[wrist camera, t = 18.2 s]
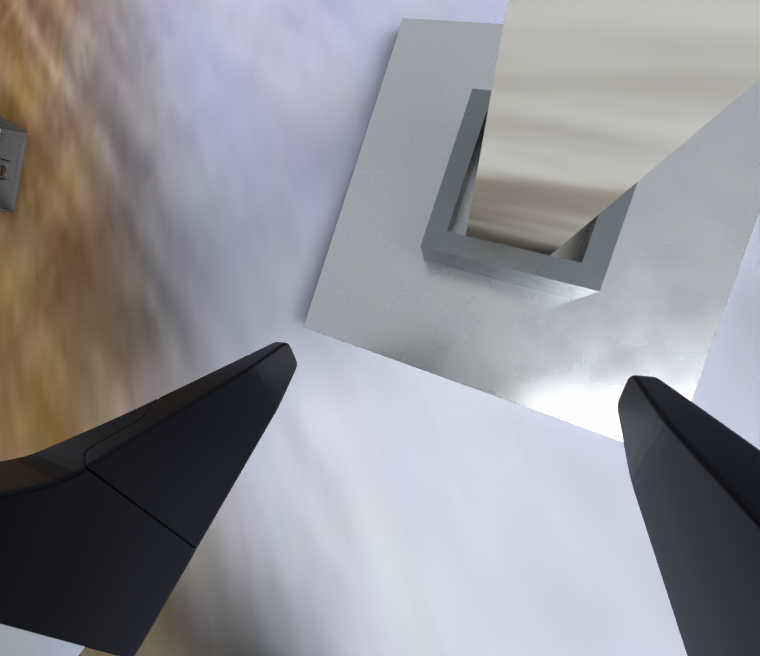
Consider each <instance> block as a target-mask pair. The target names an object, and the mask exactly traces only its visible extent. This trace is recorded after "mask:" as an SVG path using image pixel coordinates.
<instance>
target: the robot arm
mask: <svg viewBox="0 0 760 656" xmlns="http://www.w3.org/2000/svg"><path fill="white" fill-rule="evenodd" d="M296 367H297V362H296V359H295V357H294V354H293V352H292V350H291V348H290V346H289V345H288V344H287V343H283V342H275V343H272V344H270V345H268V346H266V347H264V348H262V349H260V350H258V351H256V352H254V353H252V354H250V355H248V356H245V357H243V358H241V359H239V360H237V361H235V362H233V363H231V364H229V365H227V366H225V367H223V368H221V369H218V370H216V371H214V372H212V373H210V374H208V375H206V376H204V377H202V378H200V379H198V380H196V381H194V382H191V383H189V384H187V385H185V386H183V387H181V388H179V389H177V390H175V391H173V392H171V393H169V394H167V395H164V396H162V397H160V398H159V399H156V400H154V401H152V402H150V403H148V404H146V405H144V406H141V407H139V408H137V409H135V410H133V411H131V412H129V413H126V414H124V415H122V416H120V417H118V418H115V419H113V420H111V421H109V422H106V423H104V424H102V425H100V426H97V427H95V428H93V429H91V430H88V431H86V432H84V433H81V434H79V435H77V436H74V437H72V438H70V439H67V440H65V441H63V442H61V443H58V444H56V445H54V446H51V447H49V448H47V449H44V450H42V451H39V452H37V453H34V454H31V455H28V456H25V457H21V458H17V459H12V460H7V461H1V462H0V656H80V654H81V653H82V651H83V650H84V649H85V648H86V647H88V648H91V649H95V650H99V651H103V652H106V653H110V654H114V655H117V656H134V655H135V654H136V652H137V651H138V649H139V648H140V646H141V645H142V643H143V641H144V639H145V638H146V636H147V634H148V633H149V631H150V629H151V627H152V626H153V624H154V622H155V620H156V619H157V617H158V615H159V613H160V612H161V610H162V608H163V607H164V605H165V603H166V601H167V600H168V598H169V596H170V594H171V593H172V591H173V589H174V588H175V586H176V584H177V582H178V581H179V579H180V577H181V575H182V574H183V572H184V570H185V568H186V567H187V565H188V563H189V562H190V560H191V558H192V556H193V555H194V553H195V551H196V548H197V547H198V545H199V544H200V542H201V540H202V539H203V537H204V535H205V533H206V532H207V530H208V528H209V526H210V525H211V523H212V521H213V520H214V518H215V516H216V514H217V513H218V511H219V509H220V507H221V506H222V504H223V502H224V501H225V499H226V497H227V495H228V494H229V492H230V490H231V488H232V487H233V485H234V483H235V482H236V480H237V478H238V476H239V475H240V473H241V471H242V469H243V468H244V466H245V464H246V462H247V461H248V459H249V457H250V456H251V454H252V452H253V450H254V449H255V447H256V445H257V443H258V442H259V440H260V438H261V437H262V435H263V433H264V431H265V430H266V428H267V426H268V424H269V423H270V421H271V419H272V418H273V416H274V414H275V412H276V410H277V409H278V407H279V405H280V403H281V400H282V398H283V396H284V394H285V392H286V390H287V387H288V385H289V383H290V381H291V379H292V376H293V374H294V372H295V370H296ZM618 415H619V420H620V425H621V431H622V436H623V442H624V447H625V452H626V458H627V463H628V468H629V473H630V478H631V481H632V485H633V488H634V492H635V495H636V498H637V501H638V504H639V507H640V510H641V513H642V516H643V520H644V523H645V526H646V529H647V532H648V535H649V538H650V541H651V544H652V547H653V550H654V554H655V557H656V560H657V563H658V566H659V569H660V572H661V575H662V578H663V581H664V584H665V588H666V591H667V594H668V597H669V600H670V603H671V606H672V609H673V612H674V615H675V618H676V622H677V625H678V628H679V631H680V634H681V637H682V640H683V643H684V646H685V649H686V652H687V656H760V450H759V449H757V448H756V447H755V446H753V445H752V444H750V443H749V442H748V441H746V440H745V439H743V438H742V437H741V436H739V435H738V434H736V433H735V432H733V431H732V430H731V429H729V428H728V427H726V426H725V425H724V424H722V423H721V422H719V421H718V420H717V419H715V418H714V417H712V416H711V415H710V414H708V413H707V412H705V411H704V410H703V409H701V408H700V407H698V406H697V405H695V404H694V403H693V402H691V401H690V400H688V399H687V398H686V397H684V396H683V395H681V394H680V393H679V392H677V391H676V390H674V389H673V388H672V387H670V386H669V385H667V384H666V383H664V382H663V381H662V380H660V379H658V378H656V377H651V376H640V375H633V376H630V377H629V378H628V380H627V382H626V384H625V387H624V389H623V391H622V394H621V396H620V398H619V401H618Z"/></svg>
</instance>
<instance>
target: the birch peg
mask: <svg viewBox="0 0 760 656" xmlns="http://www.w3.org/2000/svg"><path fill="white" fill-rule="evenodd" d="M759 79H760V0H508V2H507V8H506V14H505V19H504V25H503V30H502V36H501V41H500V47H499V53H498V58H497V64H496V69H495V75H494V80H493V86H492V91H491V97H490V103H489V108H488V114H487V119H486V125H485V130H484V136H483V142H482V147H481V153H480V158H479V164H478V169H477V175H476V181H475V186H474V192H473V197H472V203H471V208H470V214H469V220H468V225H467V231H466V236H469V237H473V238H477V239H482V240H486V241H490V242H494V243H499V244H503V245H507V246H511V247H516V248H520V249H524V250H528V251H533V252H537V253H541V254H545V255H551V254H552V253H553V252H555V251H556V250H557V249H558V248H559V247H561V246H562V245H563V244H564V243H565V242H567V241H568V240H569V239H570V238H571V237H573V236H574V235H575V234H576V233H577V232H578V231H580V230H581V229H582V228H583V227H584V226H586V225H587V224H588V223H589V222H590V221H592V220H593V219H594V218H595V217H596V216H597V215H599V214H600V213H601V212H602V211H603V210H605V209H606V208H607V207H608V206H609V205H611V204H612V203H613V202H614V201H615V200H616V199H618V198H619V197H620V196H621V195H622V194H624V193H625V192H626V191H627V190H628V189H630V188H631V187H632V186H633V185H634V184H636V183H637V182H638V181H639V180H640V179H641V178H643V177H644V176H645V175H646V174H647V173H649V172H650V171H651V170H652V169H653V168H655V167H656V166H657V165H658V164H659V163H660V162H662V161H663V160H664V159H665V158H666V157H668V156H669V155H670V154H671V153H672V152H674V151H675V150H676V149H677V148H678V147H679V146H681V145H682V144H683V143H684V142H685V141H687V140H688V139H689V138H690V137H691V136H693V135H694V134H695V133H696V132H697V131H699V130H700V129H701V128H702V127H703V126H704V125H706V124H707V123H708V122H709V121H710V120H712V119H713V118H714V117H715V116H716V115H718V114H719V113H720V112H721V111H722V110H723V109H725V108H726V107H727V106H728V105H729V104H731V103H732V102H733V101H734V100H735V99H737V98H738V97H739V96H740V95H741V94H742V93H744V92H745V91H746V90H747V89H748V88H750V87H751V86H752V85H753V84H754V83H756V82H757V81H758V80H759Z"/></svg>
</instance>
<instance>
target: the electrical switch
mask: <svg viewBox="0 0 760 656" xmlns="http://www.w3.org/2000/svg"><path fill="white" fill-rule="evenodd" d="M17 131H19V132H17ZM22 132H26V131H24V130H22V129H20V128H19V127H17V126H15V125H14V124H12V123H10V122H9V121H7V120H5V119H3V118H2V117H0V172H1V167H2V166H5V167H6V170H7V172H5V173H4V174H0V178H4V179H7V180H8V181H7V180H0V210H2V211H8V212H14V210H15V204H16V199H17V193H18V187H19V181H20V176H21V170H22V164H23V158H24V153H25V147H26V141H27V135H28V134H27V133H22ZM10 139H11V140H10ZM19 147H20V148H19ZM16 158H17V159H16ZM3 159H5V160H9V161H10V162H8V161H3Z"/></svg>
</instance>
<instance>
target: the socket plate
mask: <svg viewBox="0 0 760 656" xmlns="http://www.w3.org/2000/svg"><path fill="white" fill-rule="evenodd" d="M503 25H504V24H491V23H473V22H456V21H439V20H422V19H404V18H403V19H402V22H401V25H400V29H399V32H398V35H397V38H396V41H395V44H394V47H393V50H392V53H391V57H390V60H389V63H388V66H387V69H386V72H385V75H384V78H383V81H382V84H381V88H380V91H379V94H378V97H377V100H376V103H375V106H374V109H373V112H372V116H371V119H370V122H369V125H368V128H367V131H366V134H365V137H364V140H363V144H362V147H361V150H360V153H359V156H358V159H357V162H356V165H355V168H354V171H353V175H352V178H351V181H350V184H349V187H348V190H347V193H346V196H345V199H344V203H343V206H342V209H341V212H340V215H339V218H338V221H337V224H336V227H335V231H334V234H333V237H332V240H331V243H330V246H329V249H328V252H327V255H326V258H325V262H324V265H323V268H322V271H321V274H320V277H319V280H318V283H317V286H316V290H315V293H314V296H313V299H312V302H311V305H310V308H309V311H308V314H307V318H306V321H305V324H304V327H305V328H308V329H310V330H313V331H316V332H319V333H322V334H324V335H327V336H330V337H333V338H335V339H338V340H341V341H344V342H347V343H349V344H352V345H355V346H358V347H361V348H363V349H366V350H369V351H372V352H374V353H377V354H380V355H383V356H386V357H388V358H391V359H394V360H397V361H400V362H402V363H405V364H408V365H411V366H413V367H416V368H419V369H422V370H425V371H427V372H430V373H433V374H436V375H439V376H441V377H444V378H447V379H450V380H452V381H455V382H458V383H461V384H464V385H466V386H469V387H472V388H475V389H478V390H480V391H483V392H486V393H489V394H491V395H494V396H497V397H500V398H503V399H505V400H508V401H511V402H514V403H517V404H519V405H522V406H525V407H528V408H530V409H533V410H536V411H539V412H542V413H544V414H547V415H550V416H553V417H556V418H558V419H561V420H564V421H567V422H569V423H572V424H575V425H578V426H581V427H583V428H586V429H589V430H592V431H595V432H597V433H600V434H603V435H606V436H609V437H611V438H614V439H617V440H620V441H622V442H623V436H622V431H621V425H620V420H619V415H618V401H619V398H620V396H621V394H622V391H623V389H624V387H625V384H626V382H627V380H628V378H629V377H630V376H633V375H640V376H651V377H656V378H658V379H660V380H662V381H663V382H664V383H666V384H667V385H669V386H670V387H672V388H673V389H674V390H676V391H677V392H679V393H680V394H681V395H683V396H684V397H686V398H687V399H688V400H690V401H691V400H692V397H693V395H694V392H695V389H696V386H697V383H698V381H699V378H700V375H701V372H702V369H703V367H704V364H705V361H706V358H707V356H708V353H709V350H710V347H711V344H712V342H713V339H714V336H715V333H716V331H717V328H718V325H719V322H720V319H721V317H722V314H723V311H724V308H725V306H726V303H727V300H728V297H729V294H730V292H731V289H732V286H733V283H734V280H735V278H736V275H737V272H738V269H739V267H740V264H741V261H742V258H743V255H744V253H745V250H746V247H747V244H748V242H749V239H750V236H751V233H752V230H753V228H754V225H755V222H756V219H757V216H758V214H759V211H760V79H759V80H758V81H757V82H756V83H754V84H753V85H752V86H751V87H750V88H748V89H747V90H746V91H745V92H744V93H742V94H741V95H740V96H739V97H738V98H737V99H735V100H734V101H733V102H732V103H731V104H729V105H728V106H727V107H726V108H725V109H723V110H722V111H721V112H720V113H719V114H718V115H716V116H715V117H714V118H713V119H712V120H710V121H709V122H708V123H707V124H706V125H704V126H703V127H702V128H701V129H700V130H699V131H697V132H696V133H695V134H694V135H693V136H691V137H690V138H689V139H688V140H687V141H685V142H684V143H683V144H682V145H681V146H679V147H678V148H677V149H676V150H675V151H674V152H672V153H671V154H670V155H669V156H668V157H666V158H665V159H664V160H663V161H662V162H660V163H659V164H658V165H657V166H656V167H655V168H653V169H652V170H651V171H650V172H649V173H647V174H646V175H645V176H644V177H643V178H641V179H640V180H639V181H638V182H637V183H636V184H634V185H633V186H632V187H631V188H630V189H628V190H627V191H626V192H625V193H624V194H622V195H621V196H620V197H619V198H618V199H616V200H615V201H614V202H613V203H612V204H611V205H609V206H608V207H607V208H606V209H605V210H603V211H602V212H601V213H600V214H599V215H597V216H596V217H595V218H594V219H593V220H592V221H590V222H589V223H588V224H587V225H586V226H584V227H583V228H582V229H581V230H580V231H578V232H577V233H576V234H575V235H574V236H573V237H571V238H570V239H569V240H568V241H567V242H565V243H564V244H563V245H562V246H561V247H559V248H558V249H557V250H556V251H555V252H553V253H552V254H551V255H545V254H541V253H537V252H533V251H528V250H524V249H520V248H516V247H511V246H507V245H503V244H499V243H494V242H490V241H486V240H482V239H477V238H473V237H469V236H466V231H467V225H468V220H469V214H470V208H471V203H472V197H473V192H474V186H475V181H476V175H477V169H478V164H479V158H480V153H481V147H482V142H483V136H484V130H485V125H486V119H487V114H488V108H489V103H490V97H491V91H492V86H493V80H494V75H495V69H496V64H497V58H498V53H499V47H500V41H501V36H502V30H503Z"/></svg>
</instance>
